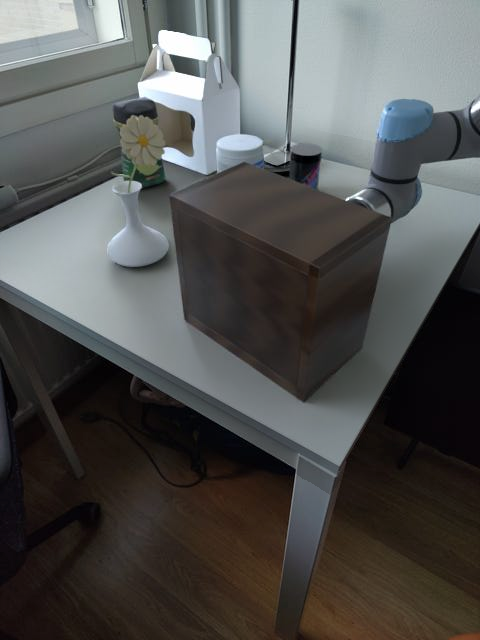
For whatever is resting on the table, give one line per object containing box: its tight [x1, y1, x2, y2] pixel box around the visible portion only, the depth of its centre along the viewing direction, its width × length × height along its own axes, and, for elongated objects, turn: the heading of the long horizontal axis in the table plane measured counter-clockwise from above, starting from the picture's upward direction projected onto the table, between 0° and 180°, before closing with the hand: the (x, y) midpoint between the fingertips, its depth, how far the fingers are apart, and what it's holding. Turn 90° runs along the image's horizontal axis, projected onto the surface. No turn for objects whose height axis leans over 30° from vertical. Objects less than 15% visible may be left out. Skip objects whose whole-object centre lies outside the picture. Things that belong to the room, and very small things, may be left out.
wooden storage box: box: [168, 162, 392, 403], centre depth 64 cm, size 24×14×22 cm, turn 46°
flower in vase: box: [106, 115, 170, 268], centre depth 79 cm, size 13×11×25 cm
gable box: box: [137, 30, 241, 176], centre depth 113 cm, size 22×13×28 cm, turn 50°
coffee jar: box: [112, 97, 166, 189], centre depth 105 cm, size 10×8×19 cm
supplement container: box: [288, 143, 323, 190], centre depth 102 cm, size 7×7×10 cm
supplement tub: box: [216, 133, 265, 174], centre depth 95 cm, size 10×10×15 cm
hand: (259, 283), depth 62 cm, fingers closed on deodorant, 6 cm apart
